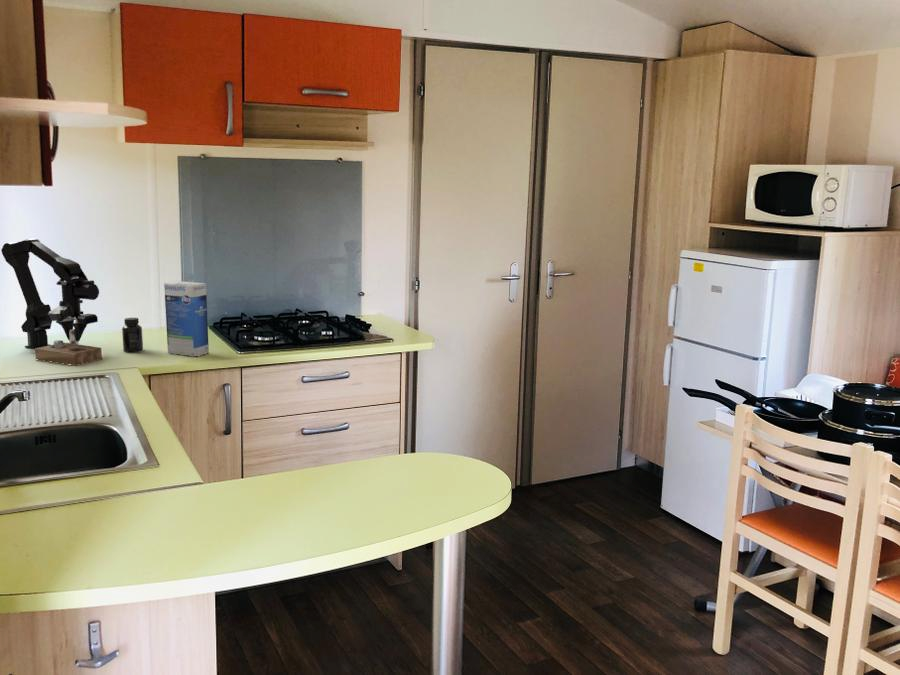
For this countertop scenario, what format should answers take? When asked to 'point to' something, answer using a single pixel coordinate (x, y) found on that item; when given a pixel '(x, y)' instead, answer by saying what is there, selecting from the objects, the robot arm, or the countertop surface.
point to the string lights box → (186, 318)
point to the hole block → (69, 353)
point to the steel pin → (72, 337)
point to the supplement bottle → (132, 335)
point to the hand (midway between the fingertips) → (73, 340)
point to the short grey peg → (58, 344)
